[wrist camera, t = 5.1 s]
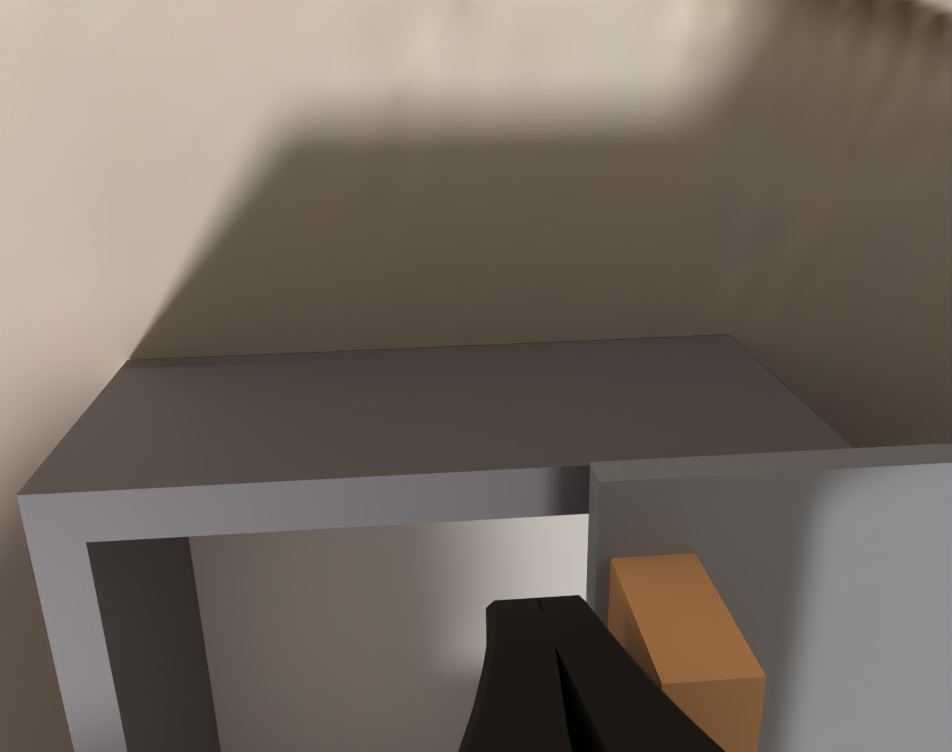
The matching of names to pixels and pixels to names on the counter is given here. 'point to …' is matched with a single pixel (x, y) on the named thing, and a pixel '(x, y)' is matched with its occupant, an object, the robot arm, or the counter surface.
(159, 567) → the grey box
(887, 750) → the box lid
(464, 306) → the counter surface
